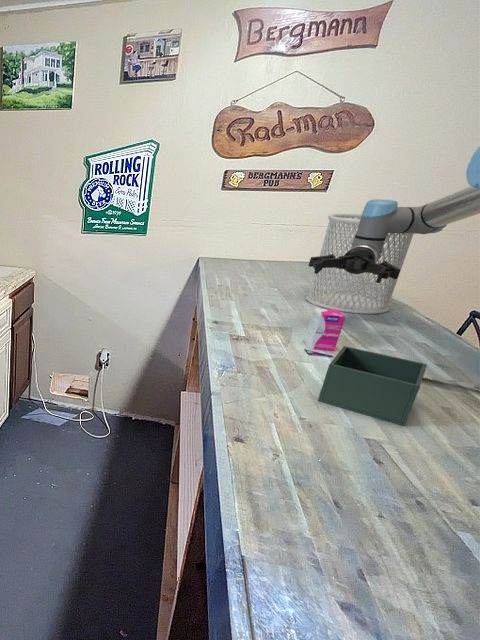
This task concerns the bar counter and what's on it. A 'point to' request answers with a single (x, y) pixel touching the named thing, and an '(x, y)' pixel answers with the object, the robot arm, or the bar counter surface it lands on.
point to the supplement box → (324, 330)
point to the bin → (372, 384)
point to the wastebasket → (349, 300)
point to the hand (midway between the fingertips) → (347, 273)
